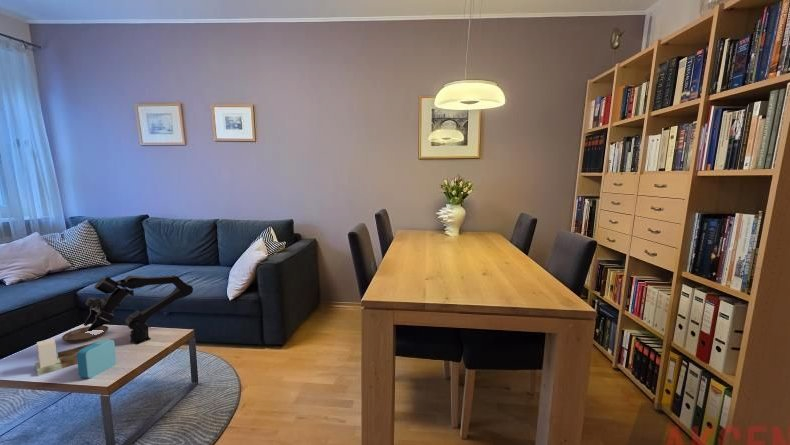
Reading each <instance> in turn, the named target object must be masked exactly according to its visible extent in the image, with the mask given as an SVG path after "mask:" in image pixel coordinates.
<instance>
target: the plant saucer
mask: <svg viewBox="0 0 790 445" xmlns="http://www.w3.org/2000/svg"><path fill="white" fill-rule="evenodd" d="M90 326H91V325H90ZM90 326H84V327H80V328H77V329H73V330H70V331H68V332H66V333H64V334H63V335H62V336H61V340H63V341H65V342H67V343H70V344H80V343H86V342H90V341H92V340H93V339H94V340H96V339H99V338H101V337H102V336H104V335H105V334H106V333H107V331H108V329H109V326H107V325H105V324H104V325H102V326H100V327H98V328H96V329H94V330H103V331H104V332H102V333H100V334H97V335H94V334H93V335H92V334H90V333H85V332H87V331H88V329H89V327H90ZM98 337H99V338H98ZM94 340H93V341H94Z"/></svg>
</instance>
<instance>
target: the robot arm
mask: <svg viewBox="0 0 790 445" xmlns="http://www.w3.org/2000/svg"><path fill="white" fill-rule="evenodd" d="M169 284H173V285H174V287H175V288H174V289H173V290H172V292H171V293H169V294H168V295H166V296H165V297H163V298H161V299H160V300H159V301H157V302H156V303H154V304H152V305H150V306H149V307H148V308H146V309H144V310H141V311H140V310H135V311H134V312H132V313H131V314H128V317H126V318H125V322H124V323H125V325H126V326H127V328H129V329H131V331H130V334H129V338H130V341H129V343H132V344H135V345H138V344H141V343H144V342H146V341H149V340H151V337H149V336H150V335H149V324H147V322H148V321H149V320H150V318H152V317H153V316H154V315H156V314H157V313H159V312H160V311H162V310H164V309H165V308H167V307H168V306H170V305H171V304H173V303H174V302H176V301H177V300H181V299H183V298H186V297H187V296H190V295H192V294H193V291H194V287H193V286H192V285H191V284H189V283H186V282H184V281H183V280H182V279H181V278H180V277H179V276H178V275H176V274H175V275H174V274H173V275H172V274H171V275H162V276H161V275H160V276H141V275H127V276H126V277H125V278H122V279H119V280H114V279H112V278H111V277H109V276H105V277H104V278H102V279H101V280H99V281H97V282H96V283H95V285H94V286H93V289H95V290H97V291H100V292H101V293H103V294H104V295H108V294H110V295H109V296H105V297H104V298H99V297H91V296H89V297H88V298H87V300H86V302H85V305H86V306H87V307H90V308H89V311H90V313H89V315H88V317H87V318H86V320H85V322H84V323H83V326H84V327H89V326H88V325H90V324H91V323H92V324H91V325H90V327H89V329H88V331H92V330H94V329H96V328H98V327H100V326H102V325H104V326H105V324H106V325H107V324H109V323H110V322H113V321H114V320H115V318H116V316H115V315H114V314H113V313H114V311H115V309H116V308H117V307H120V306H121V303H122V302H123V301H124V300H125V298H127V297H128V295H130V296H132V297H134V296H135V294H134V293H135V292H134V290H135V289H139V288H143V287H147V286H153V285H154V286H155V285H169Z"/></svg>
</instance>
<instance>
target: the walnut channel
mask: <svg viewBox="0 0 790 445" xmlns="http://www.w3.org/2000/svg"><path fill="white" fill-rule="evenodd" d="M96 342H97V341H94V342H92V343H91V342H90V343H87V344H84V345H80V346H77V347H73V348H69V349H65V350H63V351H58V352H57V363H56V364H53V365H50V366H46V367H43V368H40V365H39V361H38V362H35V364H34V365H35V370H36V373H37V376H38V377H39V376H42V375H45V374H49V373H53V372H55V371H58V370H62V369H65V368H68V367H71V366H75V365H78V363H77V353H78V351H79V350H81V349H83V348H85V347H87V346H90V345H92V344H94V343H96Z"/></svg>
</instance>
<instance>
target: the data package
mask: <svg viewBox="0 0 790 445" xmlns="http://www.w3.org/2000/svg"><path fill="white" fill-rule="evenodd" d="M95 342H96V343H94V342H93V343H94V344H92V345H90V346H87V347H85V348H83V349H81V350H79V351H78V353H77V363H78V364H77V371H78V377H80V378H85V379H92V378H94V377H95V376H97V375H100V374H101V373H103V372H105V371H106V370H107V371H108V370H109V369H110V368H112V367H113V366H115V365H116V363H117V355H116V346H115V340H113V339H106V338H105V339H104V338H103V339H101V340H99V341H95Z"/></svg>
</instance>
